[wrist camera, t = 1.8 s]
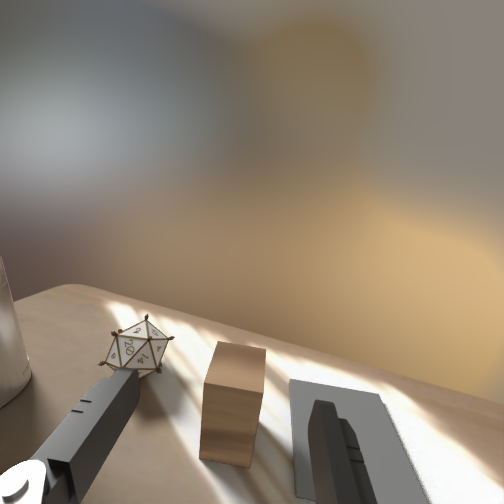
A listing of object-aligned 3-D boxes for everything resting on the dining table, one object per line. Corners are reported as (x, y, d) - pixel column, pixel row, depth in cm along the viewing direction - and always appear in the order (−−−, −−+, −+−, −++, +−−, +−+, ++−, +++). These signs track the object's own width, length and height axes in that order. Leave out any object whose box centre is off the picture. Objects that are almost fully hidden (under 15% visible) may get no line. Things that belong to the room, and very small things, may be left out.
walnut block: (249, 468, 25) (263, 393, 21) (199, 458, 25) (203, 382, 21) (254, 417, 30) (265, 349, 26) (212, 409, 30) (217, 341, 27)
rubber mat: (431, 523, 22) (435, 517, 22) (295, 496, 23) (297, 490, 23) (376, 399, 35) (378, 394, 34) (289, 383, 35) (290, 378, 35)
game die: (153, 393, 35) (182, 374, 30) (86, 396, 31) (106, 375, 25) (158, 334, 41) (183, 309, 35) (102, 329, 36) (121, 300, 31)
